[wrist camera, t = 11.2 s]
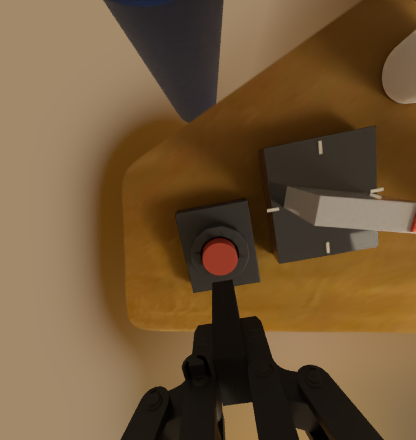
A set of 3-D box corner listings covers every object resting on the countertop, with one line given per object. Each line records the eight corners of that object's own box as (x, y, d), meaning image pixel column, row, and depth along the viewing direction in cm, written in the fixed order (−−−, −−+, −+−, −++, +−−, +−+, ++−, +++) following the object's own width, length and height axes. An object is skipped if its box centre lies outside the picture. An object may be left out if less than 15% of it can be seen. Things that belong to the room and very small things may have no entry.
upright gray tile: (283, 207, 26) (315, 226, 18) (286, 186, 25) (321, 196, 17) (360, 213, 26) (426, 235, 18) (365, 192, 25) (436, 204, 17)
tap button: (177, 210, 29) (172, 217, 25) (245, 197, 29) (250, 202, 25) (194, 284, 32) (192, 301, 28) (257, 273, 31) (263, 289, 27)
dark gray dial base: (253, 151, 27) (258, 149, 24) (363, 128, 27) (383, 123, 23) (268, 255, 31) (274, 265, 28) (366, 238, 30) (384, 246, 27)
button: (199, 241, 26) (199, 246, 25) (233, 235, 26) (234, 239, 25) (206, 271, 27) (206, 278, 26) (238, 265, 27) (240, 272, 25)
